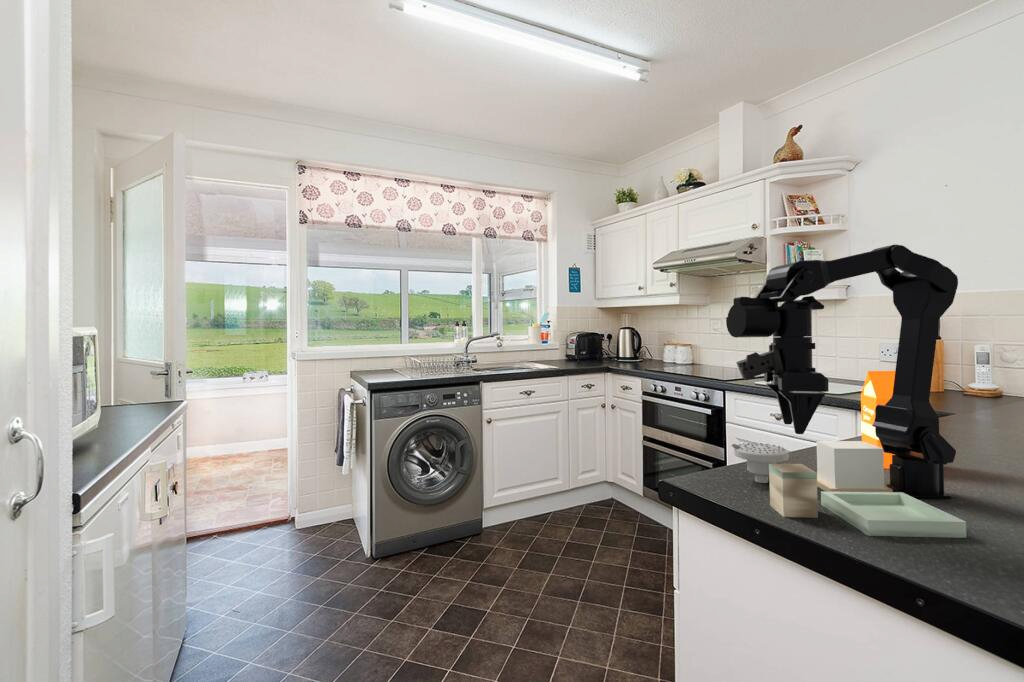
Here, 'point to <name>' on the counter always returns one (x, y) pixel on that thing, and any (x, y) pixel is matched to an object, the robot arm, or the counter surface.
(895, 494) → the parts tray
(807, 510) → the block
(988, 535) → the counter surface
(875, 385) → the orange juice
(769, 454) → the showerhead
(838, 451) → the butter dish
